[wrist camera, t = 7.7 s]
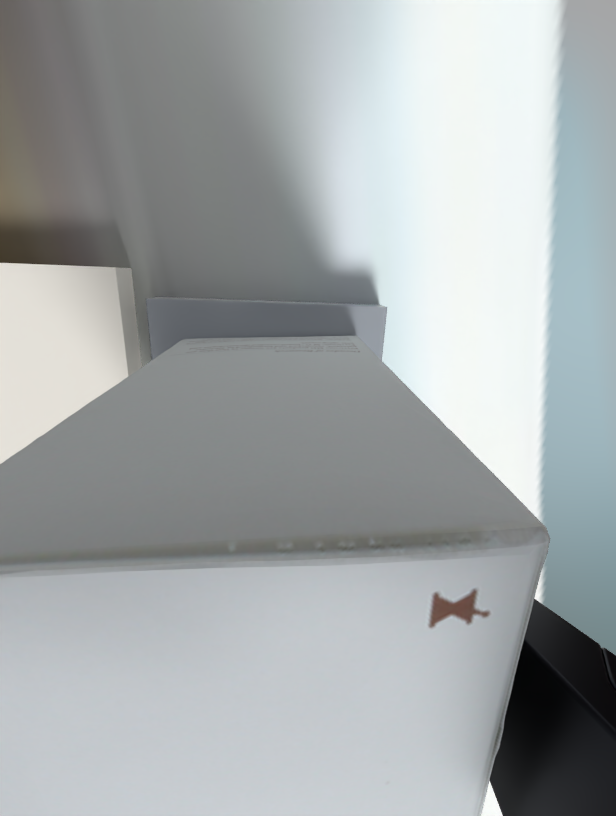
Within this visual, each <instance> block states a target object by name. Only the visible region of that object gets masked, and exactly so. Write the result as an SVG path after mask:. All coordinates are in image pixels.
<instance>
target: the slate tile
mask: <svg viewBox="0 0 616 816" xmlns="http://www.w3.org/2000/svg"><path fill="white" fill-rule="evenodd" d="M146 305H147V315H148V325H149V335H150V345H151V355H152V360H153V359H155V358H156V357H157V356H159V355H160V354H162V353H163V352H165V351H166V350H168V349H170V348H171V347H172V346H174V345H175V344H177V343H178V342H179V341H181V340H183V339H196V338H247V337H308V336H310V337H312V336H358V337H359V339H360V340H361V341H363V342H364V343H365V345H366V346H367V347H368V348H369V349H370V350H371V351H372V352H373V353H374V354H375V355H376V356H377V357H378V358H379V359H380V360H381V361H382V353H383V343H384V333H385V324H386V314H387V307H385V306H382V305H375V304H348V303H320V302H293V301H265V300H237V299H210V298H182V297H153V298H147V299H146Z"/></svg>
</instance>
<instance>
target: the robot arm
mask: <svg viewBox="0 0 616 816" xmlns="http://www.w3.org/2000/svg"><path fill="white" fill-rule="evenodd" d="M490 782H491V785H492V788H493V790H494V793H495V796H496V798H497V801H498V804H499V806H500V809H501V812H502V814H503V816H616V655H614V654H613V653H611V652H610V651H608V650H607V649H605V648H601V647H600V645H599V644H598V643H597V642H595V641H594V640H593V639H591V638H589V637H588V636H587V635H585V634H584V633H583V632H581V631H580V630H578V629H577V628H575V627H574V626H573V625H571V624H570V623H568V622H567V621H565V620H564V619H562V618H561V617H560V616H558V615H557V614H555V613H554V612H553V611H551V610H550V609H548V608H547V607H545V606H544V605H543V604H541V603H540V602H538V601H537V600H535V599H534V601H533V606H532V610H531V614H530V618H529V622H528V625H527V629H526V633H525V637H524V641H523V644H522V648H521V652H520V656H519V660H518V664H517V669H516V673H515V677H514V681H513V686H512V691H511V695H510V699H509V702H508V706H507V710H506V715H505V720H504V728H503V733H502V737H501V742H500V747H499V750H498V752H497V754H496V756H495V760H494V764H493V768H492V772H491V776H490Z"/></svg>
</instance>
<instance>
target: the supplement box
mask: <svg viewBox="0 0 616 816" xmlns="http://www.w3.org/2000/svg"><path fill="white" fill-rule="evenodd" d="M549 543H550V537H549V534H548V531H547V528H546V527H545V526H544V525H543V524H542V523H541V522H540V521H539V520H538V519H537V518H536V517H535V516H534V515H533V514H532V513H531V512H530V511H529V510H528V509H527V508H526V506H525V505H524V504H523V503H522V502H521V501H520V500H519V499H518V498H517V497H516V496H515V495H514V494H513V493H512V492H511V491H510V490H509V489H508V488H507V487H506V486H505V485H504V484H503V483H502V482H501V481H500V480H499V479H498V478H497V477H496V476H495V475H494V474H493V473H492V472H491V471H490V470H489V469H488V468H487V467H486V466H485V465H484V464H483V463H482V462H481V461H480V460H479V459H478V458H477V457H476V456H475V455H474V454H473V453H472V452H471V451H470V450H469V449H468V448H467V447H466V446H465V445H464V444H463V443H462V441H461V440H460V439H459V438H458V437H457V436H456V435H455V434H454V433H453V432H452V431H451V430H449V429H448V428H447V427H446V426H445V425H444V424H443V423H442V421H441V420H440V419H439V418H438V417H437V416H436V415H435V414H434V413H433V412H432V411H431V410H430V409H429V408H428V407H427V406H426V405H425V404H424V403H423V402H422V401H421V400H420V399H419V398H418V397H417V396H416V395H415V394H414V393H413V392H412V391H411V390H410V389H409V388H408V387H407V386H406V385H405V384H404V383H403V382H402V381H401V380H400V379H399V378H398V377H397V376H396V375H395V374H394V373H393V372H392V371H391V370H390V369H389V368H388V367H387V366H386V365H385V364H384V363H383V362H382V361H381V360H380V359H379V358H378V357H377V356H376V355H375V354H374V353H373V352H372V351H371V350H370V349H369V348H368V347H367V346H366V345H365V343H364V342H363V341H361V340H360V339H359V337H358V336H312V337H310V336H308V337H247V338H196V339H183V340H181V341H179V342H178V343H177V344H175V345H174V346H172V347H171V348H170V349H168V350H166V351H165V352H163V353H162V354H160V355H159V356H157V357H156V358H155V359H153V360H151V361H150V362H149V363H147V364H146V365H145V366H143V367H142V368H140V369H139V370H137V371H136V372H134V373H133V374H131V375H130V376H128V377H127V378H125V379H124V380H122V381H121V382H120V383H118V384H117V385H115V386H114V387H112V388H111V389H109V390H108V391H106V392H105V393H103V394H102V395H100V396H99V397H97V398H96V399H94V400H93V401H91V402H90V403H88V404H87V405H85V406H84V407H82V408H81V409H80V410H78V411H77V412H75V413H74V414H72V415H71V416H69V417H68V418H66V419H65V420H63V421H62V422H61V423H59V424H58V425H56V426H55V427H54V428H52V429H51V430H49V431H48V432H47V433H45V434H44V435H42V436H40V437H38V438H37V439H36V440H34V441H33V442H32V443H30V444H29V445H28V446H26V447H25V448H23V449H22V450H20V451H19V452H17V453H16V454H14V455H13V456H11V457H10V458H8V459H7V460H5V461H4V462H3V463H1V464H0V816H481V813H482V809H483V805H484V801H485V797H486V792H487V788H488V784H489V780H490V776H491V772H492V768H493V764H494V760H495V756H496V754H497V752H498V750H499V747H500V742H501V737H502V733H503V728H504V720H505V715H506V710H507V706H508V702H509V699H510V695H511V691H512V686H513V681H514V677H515V673H516V669H517V664H518V660H519V656H520V652H521V648H522V644H523V641H524V637H525V633H526V629H527V625H528V622H529V618H530V614H531V610H532V606H533V601H534V597H535V592H536V589H537V585H538V581H539V577H540V573H541V570H542V567H543V564H544V562H545V559H546V556H547V553H548V548H549Z"/></svg>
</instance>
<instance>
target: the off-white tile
mask: <svg viewBox="0 0 616 816" xmlns="http://www.w3.org/2000/svg"><path fill="white" fill-rule="evenodd" d="M140 368H142V363H141V354H140V344H139V335H138V325H137V316H136V307H135V297H134V288H133V279H132V269H131V268H117V267H93V266H68V265H43V264H18V263H0V464H1V463H3V462H4V461H5V460H7V459H8V458H10V457H11V456H13V455H14V454H16V453H17V452H19V451H20V450H22V449H23V448H25V447H26V446H28V445H29V444H30V443H32V442H33V441H34V440H36V439H37V438H38V437H40V436H42V435H44V434H45V433H47V432H48V431H49V430H51V429H52V428H54V427H55V426H56V425H58V424H59V423H61V422H62V421H63V420H65V419H66V418H68V417H69V416H71V415H72V414H74V413H75V412H77V411H78V410H80V409H81V408H82V407H84V406H85V405H87V404H88V403H90V402H91V401H93V400H94V399H96V398H97V397H99V396H100V395H102V394H103V393H105V392H106V391H108V390H109V389H111V388H112V387H114V386H115V385H117V384H118V383H120V382H121V381H122V380H124V379H125V378H127V377H128V376H130V375H131V374H133V373H134V372H136V371H137V370H139V369H140Z"/></svg>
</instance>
